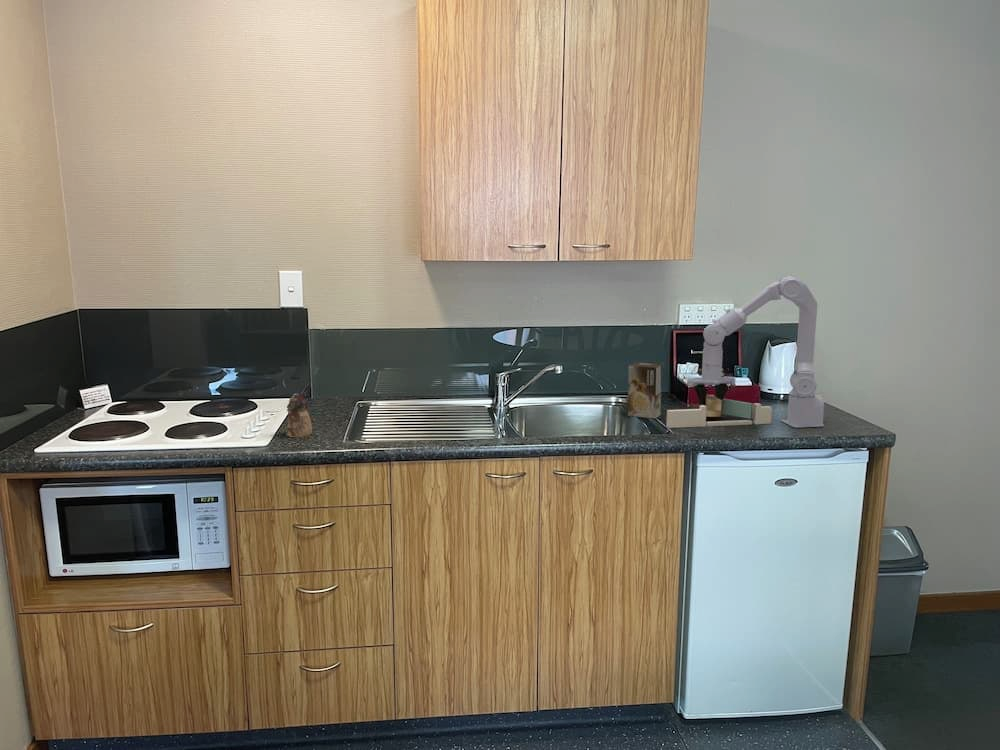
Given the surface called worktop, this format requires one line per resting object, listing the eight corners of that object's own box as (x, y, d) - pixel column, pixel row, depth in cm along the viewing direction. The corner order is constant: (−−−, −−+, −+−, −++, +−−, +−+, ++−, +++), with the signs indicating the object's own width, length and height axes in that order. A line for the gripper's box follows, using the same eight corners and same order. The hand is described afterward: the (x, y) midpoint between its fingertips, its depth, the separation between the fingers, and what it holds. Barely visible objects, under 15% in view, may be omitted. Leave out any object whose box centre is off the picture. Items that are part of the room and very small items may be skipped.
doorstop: (712, 410, 240) (713, 394, 239) (720, 416, 234) (721, 400, 233) (699, 410, 240) (700, 395, 239) (707, 416, 233) (708, 400, 232)
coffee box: (661, 414, 243) (663, 364, 240) (655, 419, 238) (657, 367, 234) (633, 411, 247) (634, 361, 244) (626, 416, 242) (628, 365, 239)
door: (754, 418, 232) (755, 404, 231) (753, 419, 231) (754, 404, 230) (709, 410, 242) (710, 396, 241) (708, 411, 241) (708, 396, 240)
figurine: (285, 432, 224) (283, 391, 221) (310, 430, 226) (308, 389, 224) (287, 438, 217) (285, 396, 215) (313, 436, 220) (311, 394, 217)
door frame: (768, 422, 234) (769, 402, 232) (771, 423, 232) (772, 404, 231) (666, 426, 229) (666, 406, 228) (668, 428, 227) (669, 408, 226)
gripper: (694, 367, 229) (692, 412, 232) (740, 366, 231) (738, 410, 234) (685, 363, 236) (683, 407, 238) (730, 362, 238) (728, 405, 241)
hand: (710, 408), depth 237 cm, fingers closed on doorstop, 4 cm apart
